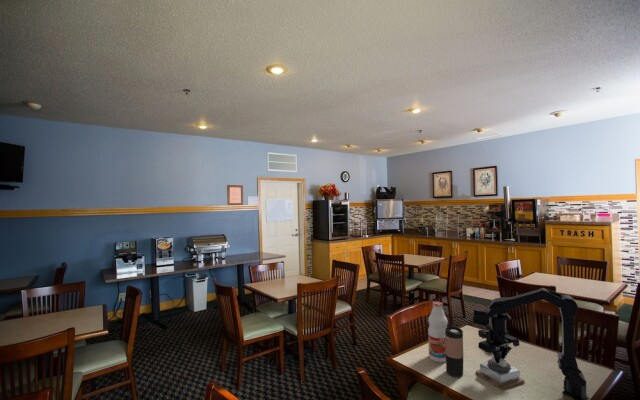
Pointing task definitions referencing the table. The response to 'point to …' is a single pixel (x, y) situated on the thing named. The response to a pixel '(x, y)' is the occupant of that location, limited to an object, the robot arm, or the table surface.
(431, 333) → the fruit juice
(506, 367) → the grey disc with handle
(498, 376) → the hollow square frame
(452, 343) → the travel mug
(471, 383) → the table surface
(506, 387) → the walnut plate
